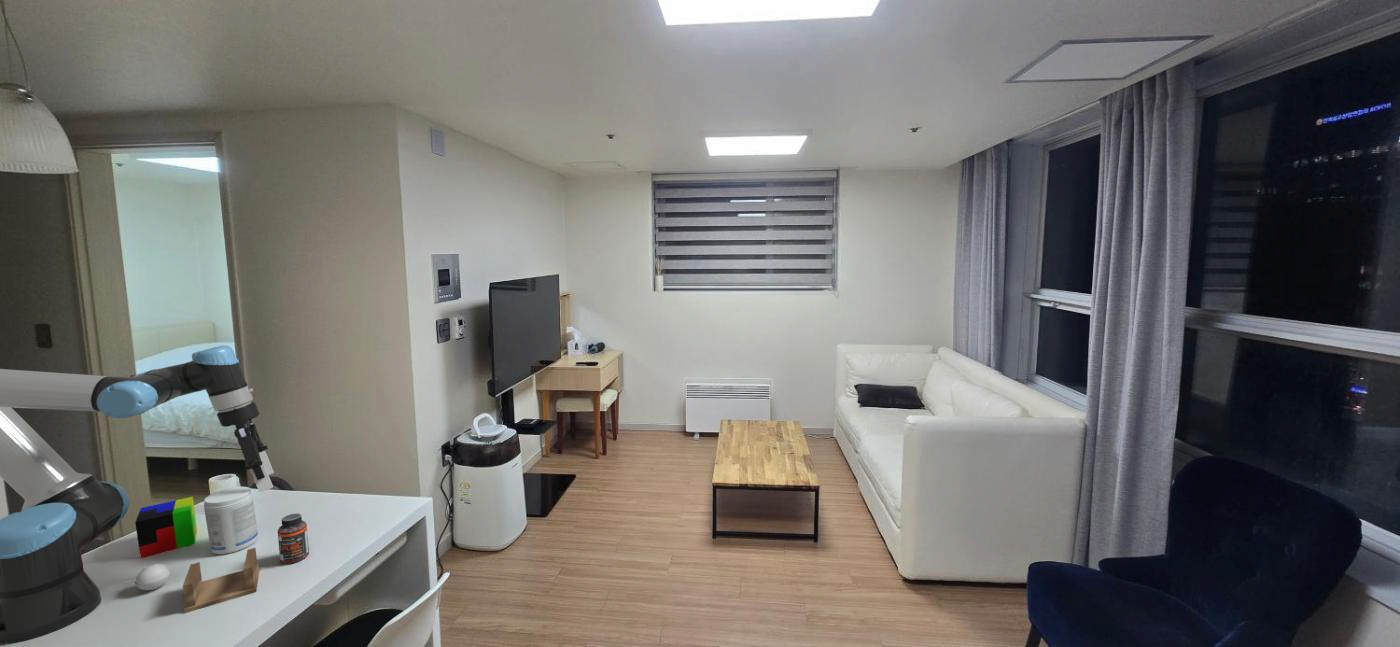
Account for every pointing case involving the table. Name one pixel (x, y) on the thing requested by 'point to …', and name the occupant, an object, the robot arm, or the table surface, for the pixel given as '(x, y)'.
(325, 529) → the table surface
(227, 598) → the holder cradle
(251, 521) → the supplement tub
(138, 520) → the puzzle toy
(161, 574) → the white oval egg shape
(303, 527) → the supplement bottle
